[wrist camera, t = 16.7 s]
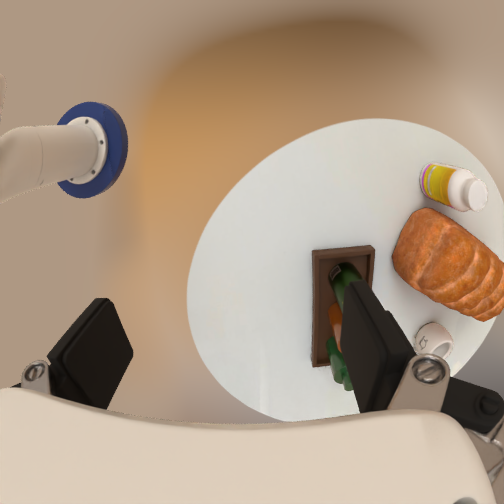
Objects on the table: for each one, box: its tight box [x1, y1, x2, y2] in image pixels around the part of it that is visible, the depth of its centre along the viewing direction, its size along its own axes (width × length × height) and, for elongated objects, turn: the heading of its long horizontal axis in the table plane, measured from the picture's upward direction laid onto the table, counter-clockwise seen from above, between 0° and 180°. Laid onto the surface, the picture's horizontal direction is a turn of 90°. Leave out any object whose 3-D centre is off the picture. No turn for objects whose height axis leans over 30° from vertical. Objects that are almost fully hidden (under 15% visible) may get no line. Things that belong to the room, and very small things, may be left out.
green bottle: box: [325, 336, 353, 391], centre depth 46 cm, size 5×5×12 cm
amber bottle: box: [327, 302, 342, 353], centre depth 43 cm, size 5×5×12 cm
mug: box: [415, 323, 454, 360], centre depth 48 cm, size 12×8×8 cm
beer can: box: [328, 262, 364, 314], centre depth 40 cm, size 5×5×12 cm
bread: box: [392, 208, 504, 322], centre depth 37 cm, size 14×26×16 cm, turn 69°
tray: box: [311, 245, 375, 367], centre depth 48 cm, size 11×26×2 cm, turn 6°
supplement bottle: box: [420, 162, 488, 212], centre depth 33 cm, size 7×7×13 cm
